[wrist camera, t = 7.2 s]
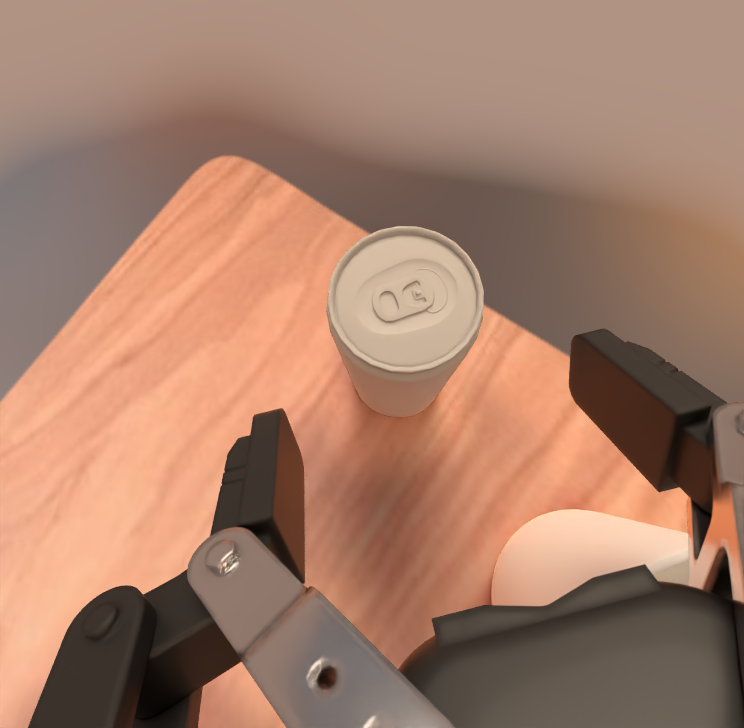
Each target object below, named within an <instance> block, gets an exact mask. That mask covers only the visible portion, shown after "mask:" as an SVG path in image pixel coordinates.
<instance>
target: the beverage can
mask: <svg viewBox="0 0 744 728" xmlns="http://www.w3.org/2000/svg"><path fill="white" fill-rule="evenodd" d="M327 317H328V322H329V327H330V332H331V334H332V337H333V339H334V341H335V343H336V346H337V348H338V350H339V352H340V355H341V357H342V359H343V361H344V364H345V366H346V368H347V370H348V373H349V375H350V377H351V379H352V382H353V384H354V386H355V388H356V390H357V392H358V394H359V396H360V398H361V400H362V401H363V402H364V403H365V404H366V405H367V406H368V407H369V408H371V409H372V410H374V411H376V412H377V413H380V414H383V415H386V416H391V417H400V418H401V417H409V416H413V415H416V414H418V413H420V412H422V411H423V410H424V409H426V408H427V407H428V406H429V405H430V404H431V403H432V402H433V400H434V399H435V398H436V396H437V395H438V393H439V392H440V391H441V389H442V388H443V387H444V385H445V384H446V382H447V381H448V380H449V378H450V377H451V376H452V374H453V373H454V371H455V370H456V369H457V367H458V366H459V365H460V363H461V362H462V360H463V359H464V358H465V356H466V355H467V353H468V351H469V350H470V348H471V347H472V345H473V343H474V342H475V340H476V339H477V336H478V333H479V329H480V326H481V323H482V319H483V287H482V283H481V280H480V276H479V272H478V270H477V269H476V267H475V265H474V264H473V262H472V261H471V259H470V257H469V256H468V255H467V254H466V253H465V252H464V251H463V250H462V249H461V248H460V247H459V246H458V245H457V244H456V243H455V242H454V241H452V240H450V239H448V238H447V237H445V236H443V235H441V234H439V233H438V232H434V231H431V230H427V229H424V228H420V227H406V226H405V227H404V226H397V227H393V228H388V229H383V230H379V231H377V232H375V233H372V234H370V235H368V236H366V237H364V238H362V239H361V240H360V241H358V242H357V243H356V244H355V245H353V246H352V247H351V248H350V249H349V250H347V251H346V253H345V254H344V256H343V257H342V258H341V260H340V261H339V263H338V264H337V265H336V267H335V270H334V273H333V275H332V278H331V280H330V283H329V292H328V300H327Z"/></svg>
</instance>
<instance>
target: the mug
mask: <svg viewBox="0 0 744 728" xmlns="http://www.w3.org/2000/svg"><path fill="white" fill-rule="evenodd" d="M644 564H645V565H646V566H647V567H648V569H649V570H650V571H651V573H652V574H653V575H654V577H655V578H656V579H657V581H664V582H672V583H679V584H684V585H688V580H689V552H688V533H684V532H680V531H675V530H671V529H667V528H663V527H658V526H654V525H650V524H646V523H642V522H637V521H633V520H629V519H625V518H620V517H616V516H612V515H608V514H603V513H599V512H594V511H588V510H578V509H568V510H559V511H553V512H549V513H546V514H543V515H540V516H538V517H536V518H534V519H532V520H530V521H529V522H527V523H526V524H525V525H523V526H522V527H521V528H519V529H518V530H517V531H516V532H515V533H514V534H513V535H512V537H511V538H510V539H509V540H508V542H507V543H506V545H505V546H504V548H503V550H502V551H501V553H500V556H499V558H498V560H497V563H496V566H495V570H494V573H493V579H492V590H491V599H492V605H503V606H545V605H548V604H550V603H552V602H554V601H555V600H557V599H559V598H560V597H562V596H564V595H565V594H567V593H568V592H570V591H572V590H573V589H575V588H577V587H578V586H580V585H581V584H583V583H585V582H586V581H588V580H590V579H591V578H593V577H597V576H601V575H605V574H608V573H612V572H616V571H620V570H624V569H628V568H632V567H636V566H640V565H644Z"/></svg>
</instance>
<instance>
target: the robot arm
mask: <svg viewBox="0 0 744 728" xmlns="http://www.w3.org/2000/svg"><path fill="white" fill-rule="evenodd" d="M569 388H570V392H571V395H572V397H573V399H574V401H575V402H576V404H577V405H578V406H579V407H580V408H581V409H582V410H583V411H584V412H585V413H586V414H587V416H588V417H589V418H590V419H591V420H592V421H593V422H594V423H595V424H596V425H597V426H598V427H599V428H600V430H601V431H602V432H603V433H604V434H605V435H606V436H607V437H608V438H609V439H610V440H611V441H612V442H613V443H614V445H615V446H616V447H617V448H618V449H619V450H620V451H621V452H622V453H623V454H624V455H625V456H626V457H627V459H628V460H629V461H630V462H631V463H632V464H633V465H634V466H635V467H636V468H637V469H638V470H639V471H640V472H641V474H642V475H643V476H644V477H645V478H646V479H647V480H648V481H649V482H650V483H651V484H652V485H653V486H654V488H655V489H656V490H657V491H658V492H662V491H666V490H669V489H673V488H677V487H680V488H681V489H682V490H683V491H684V492H685V493H686V494H687V495H688V500H687V526H688V552H689V580H688V585H684V584H679V583H672V582H664V581H657V579H656V578H655V577H654V575H653V574H652V573H651V571H650V570H649V569H648V567H647V566H646V565H645V564H644V565H640V566H636V567H632V568H628V569H624V570H620V571H616V572H612V573H608V574H605V575H601V576H597V577H593V578H591V579H590V580H588V581H586V582H585V583H583V584H581V585H580V586H578V587H577V588H575V589H573V590H572V591H570V592H568V593H567V594H565V595H564V596H562V597H560V598H559V599H557V600H555V601H554V602H552V603H550V604H548V605H545V606H503V605H483V606H479V607H475V608H471V609H468V610H464V611H460V612H456V613H452V614H448V615H444V616H440V617H436V618H432V622H433V627H434V631H435V636H434V637H432V638H430V639H429V640H427V641H425V642H424V643H423V644H422V645H420V646H419V647H418V648H417V649H416V650H414V651H413V652H412V654H411V655H410V656H409V657H408V658H407V659H406V660H405V661H404V662H403V664H402V665H401V666H400V668H399V669H397V668H396V667H395V666H394V665H393V664H392V663H391V662H390V661H389V660H388V659H387V658H386V657H385V656H384V655H383V654H382V653H381V652H380V651H379V650H378V649H377V648H376V647H375V646H374V645H373V644H372V643H371V642H370V641H369V640H368V639H367V638H366V637H365V636H364V635H363V634H362V633H361V632H360V631H359V630H358V629H357V628H356V627H355V626H354V625H353V624H352V623H351V622H350V621H349V620H348V619H347V618H346V617H345V616H344V615H343V614H342V613H341V612H340V611H339V610H338V609H336V608H335V607H334V606H333V605H332V604H331V603H330V602H329V601H328V600H327V599H326V598H325V597H324V596H323V595H322V594H321V593H320V592H319V591H318V590H317V589H315V588H314V587H312V586H310V587H309V588H306V587H305V586H304V585H303V584H304V583H305V537H304V466H303V460H302V456H301V452H300V449H299V447H298V444H297V442H296V439H295V436H294V434H293V431H292V429H291V426H290V424H289V421H288V418H287V416H286V413H285V411H284V410H283V409H282V408H280V409H276V410H272V411H268V412H264V413H260V414H256V415H254V417H253V422H252V428H251V435H249V436H245V437H241V438H238V440H237V441H236V443H235V444H234V446H233V447H232V448H231V450H230V451H229V453H228V455H227V460H226V465H225V469H224V470H225V473H224V474H223V479H222V486H221V488H220V492H219V497H218V502H217V506H216V511H215V516H214V520H213V525H212V530H211V534H210V537H209V538H208V539H206V540H205V541H204V542H203V543H202V544H201V545H200V546H199V547H198V548H197V550H196V551H195V553H194V554H193V556H192V558H191V560H190V562H189V565H188V569H187V570H185V571H184V572H183V573H181V574H180V575H178V576H177V577H175V578H173V579H171V580H170V581H168V582H166V583H164V584H162V585H160V586H159V587H157V588H155V589H153V590H151V591H149V592H148V593H146V594H144V595H143V594H142V593H141V592H140V591H139V590H138V589H137V588H135V587H133V586H119V587H115V588H112V589H110V590H108V591H106V592H104V593H102V594H100V595H99V596H97V597H96V598H94V599H93V600H92V601H91V602H89V603H88V604H87V605H86V606H85V607H84V608H83V609H82V610H81V611H80V612H79V613H78V615H77V616H76V617H75V619H74V620H73V621H72V623H71V624H70V626H69V628H68V630H67V632H66V634H65V636H64V639H63V641H62V644H61V646H60V649H59V651H58V654H57V656H56V659H55V661H54V664H53V666H52V669H51V671H50V674H49V676H48V679H47V681H46V684H45V686H44V689H43V691H42V694H41V696H40V699H39V701H38V704H37V706H36V709H35V711H34V714H33V716H32V719H31V721H30V724H29V726H28V728H198V720H199V712H200V704H201V696H202V687H203V686H204V685H205V684H207V683H208V682H210V681H211V680H213V679H215V678H216V677H218V676H219V675H221V674H222V673H224V672H226V671H227V670H229V669H230V668H232V667H233V666H235V665H237V664H238V663H240V662H241V661H242V663H243V664H244V666H245V667H246V669H247V670H248V672H249V673H250V675H251V676H252V678H253V679H254V681H255V682H256V683H257V685H258V686H259V688H260V689H261V691H262V692H263V694H264V695H265V697H266V698H267V700H268V701H269V702H270V704H271V705H272V707H273V708H274V710H275V711H276V713H277V714H278V716H279V717H280V719H281V720H282V722H283V723H284V724H285V726H286V727H287V728H744V402H735V403H727V402H725V401H724V400H722V399H721V398H720V397H718V396H717V395H715V394H714V393H712V392H711V391H709V390H708V389H707V388H705V387H703V386H702V385H701V384H699V383H698V382H696V381H695V380H693V379H692V378H691V377H689V376H688V375H686V374H685V373H683V372H682V371H678V369H677V368H676V367H675V366H673V365H672V364H670V363H669V362H665V360H664V359H663V358H662V357H660V356H659V355H657V354H656V353H655V352H653V351H652V350H650V349H648V348H645V347H642V346H640V345H637V344H634V343H631V342H624V341H622V340H621V339H619V338H618V337H617V336H615V335H614V334H613V333H611V332H610V331H608V330H606V329H600V330H596V331H591V332H588V333H583V334H579V335H576V336H574V337H573V339H572V343H571V356H570V372H569Z"/></svg>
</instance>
